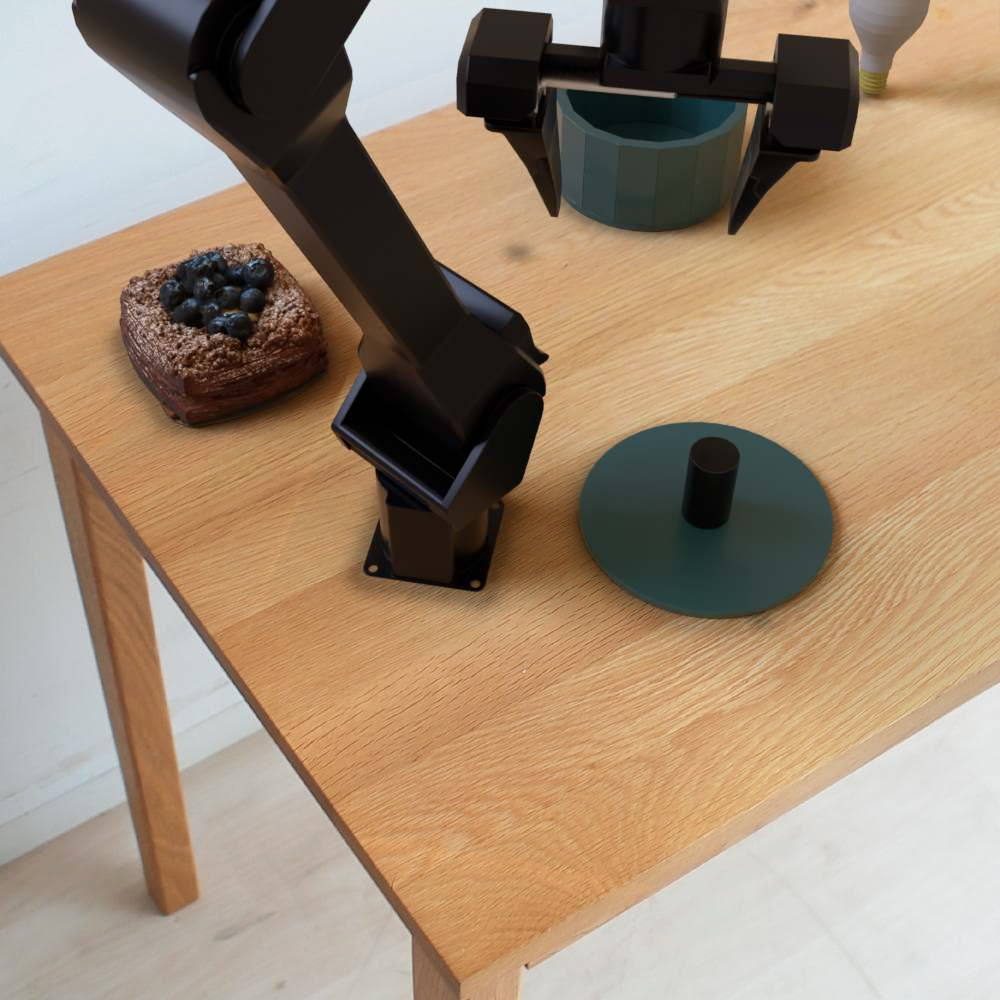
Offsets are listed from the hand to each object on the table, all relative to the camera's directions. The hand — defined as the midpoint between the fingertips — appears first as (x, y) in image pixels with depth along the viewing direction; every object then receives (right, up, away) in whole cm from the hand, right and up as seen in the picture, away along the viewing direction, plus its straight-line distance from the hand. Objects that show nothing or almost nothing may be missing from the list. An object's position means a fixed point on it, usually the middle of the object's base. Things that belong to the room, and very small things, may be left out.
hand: (642, 221), depth 75 cm
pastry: (-24, -6, +12) cm, 28 cm away
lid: (+4, -15, +3) cm, 16 cm away
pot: (+3, +8, +24) cm, 25 cm away
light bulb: (+20, +15, +31) cm, 40 cm away
